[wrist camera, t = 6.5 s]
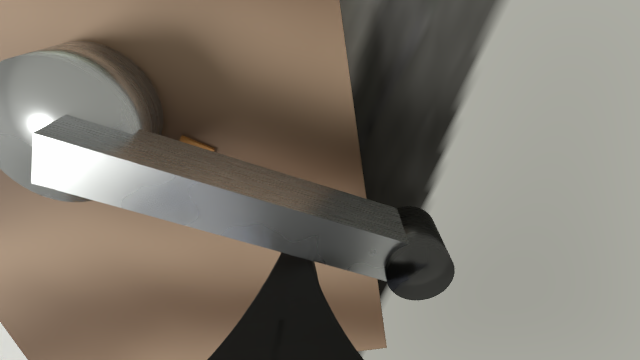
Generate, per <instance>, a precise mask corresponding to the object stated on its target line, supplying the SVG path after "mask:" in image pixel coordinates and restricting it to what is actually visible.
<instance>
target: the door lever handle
mask: <svg viewBox="0 0 640 360" xmlns="http://www.w3.org/2000/svg"><path fill="white" fill-rule="evenodd" d="M162 130H163V110H162V105H161V101H160V98H159V96H158V93H157V91H156V89H155V87H154V86H153V84H152V82H151V81H150V79H149V78H148V77H147V75H146V74H145V73H144V72H143V71H142V70H141V68H140V67H139V66H138V65H136V64H135V63H134V62H133V61H132V60H131V59H129V58H128V57H126V56H125V55H123V54H122V53H120V52H118V51H116V50H114V49H112V48H110V47H107V46H105V45H102V44H98V43H94V42H87V41H72V42H66V43H62V44H59V45H55V46H51V47H48V48H44V49H40V50H37V51H33V52H29V53H26V54H22V55H19V56H15V57H11V58H8V59H5V60H3V61H1V62H0V169H1V170H2V171H3V172H4V173H5V174H6V175H8V176H9V177H10V178H11V179H13V180H14V181H15V182H17V183H18V184H20V185H21V186H23V187H25V188H27V189H28V190H30V191H32V192H34V193H37V194H39V195H41V196H44V197H47V198H50V199H54V200H59V201H65V202H87V201H92V200H94V201H98V202H101V203H105V204H108V205H112V206H116V207H119V208H123V209H127V210H130V211H134V212H137V213H141V214H145V215H148V216H152V217H155V218H159V219H163V220H166V221H170V222H174V223H177V224H181V225H184V226H188V227H192V228H195V229H199V230H202V231H206V232H210V233H213V234H217V235H221V236H224V237H228V238H231V239H235V240H239V241H242V242H246V243H249V244H253V245H257V246H260V247H264V248H268V249H271V250H275V251H278V252H282V253H286V254H289V255H293V256H296V257H300V258H304V259H307V260H311V261H314V262H318V263H322V264H325V265H329V266H333V267H336V268H340V269H343V270H347V271H351V272H354V273H358V274H361V275H365V276H369V277H372V278H376V279H380V280H383V281H387V283H388V286H389V288H390V289H391V290H392V291H393V292H394V293H395V294H396V295H398V296H400V297H402V298H405V299H409V300H424V299H429V298H432V297H434V296H436V295H438V294H440V293H441V292H443V291H444V290H445V289H446V288H447V287H448V286H449V284H450V283H451V281H452V279H453V277H454V265H453V262H452V260H451V258H450V255H449V253H448V251H447V250H446V248H445V245H444V243H443V241H442V238H441V236H440V234H439V232H438V230H437V228H436V226H435V224H434V221H433V219H432V218H431V216H430V215H429V214H428V213H427V212H426V211H424V210H422V209H420V208H417V207H411V206H406V207H399V208H394V207H391V206H388V205H385V204H381V203H378V202H375V201H372V200H368V199H365V198H362V197H359V196H356V195H352V194H349V193H346V192H343V191H339V190H336V189H333V188H330V187H326V186H323V185H320V184H317V183H313V182H310V181H307V180H304V179H301V178H297V177H294V176H291V175H288V174H284V173H281V172H278V171H275V170H271V169H268V168H265V167H262V166H258V165H255V164H252V163H249V162H245V161H242V160H239V159H236V158H233V157H229V156H226V155H223V154H220V153H216V152H213V151H210V150H207V149H203V148H200V147H197V146H194V145H190V144H187V143H184V142H181V141H178V140H174V139H171V138H168V137H165V136H161V134H162Z"/></svg>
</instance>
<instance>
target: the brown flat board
mask: <svg viewBox="0 0 640 360" xmlns="http://www.w3.org/2000/svg"><path fill="white" fill-rule="evenodd" d="M72 41H87V42H94V43H98V44H102V45H105V46H107V47H110V48H112V49H114V50H116V51H118V52H120V53H122V54H123V55H125V56H126V57H128V58H129V59H131V60H132V61H133V62H134V63H135V64H136V65H138V66H139V67H140V68H141V70H142V71H143V72H144V73H145V74H146V75H147V77H148V78H149V79H150V81H151V82H152V84H153V86H154V87H155V89H156V91H157V93H158V96H159V98H160V101H161V105H162V110H163V130H162V134H161V136H165V137H168V138H171V139H174V140H178V141H181V142H184V143H187V144H190V145H194V146H197V147H200V148H203V149H207V150H210V151H213V152H216V153H220V154H223V155H226V156H229V157H233V158H236V159H239V160H242V161H245V162H249V163H252V164H255V165H258V166H262V167H265V168H268V169H271V170H275V171H278V172H281V173H284V174H288V175H291V176H294V177H297V178H301V179H304V180H307V181H310V182H313V183H317V184H320V185H323V186H326V187H330V188H333V189H336V190H339V191H343V192H346V193H349V194H352V195H356V196H359V197H362V198H365V199H366V192H365V185H364V177H363V170H362V163H361V155H360V148H359V141H358V133H357V126H356V119H355V111H354V104H353V97H352V89H351V82H350V75H349V67H348V60H347V53H346V45H345V38H344V31H343V23H342V16H341V9H340V1H339V0H0V62H1V61H3V60H5V59H8V58H11V57H15V56H19V55H22V54H26V53H29V52H33V51H37V50H40V49H44V48H48V47H51V46H55V45H59V44H62V43H66V42H72ZM280 254H281V252H278V251H275V250H271V249H268V248H264V247H260V246H257V245H253V244H249V243H246V242H242V241H239V240H235V239H231V238H228V237H224V236H221V235H217V234H213V233H210V232H206V231H202V230H199V229H195V228H192V227H188V226H184V225H181V224H177V223H174V222H170V221H166V220H163V219H159V218H155V217H152V216H148V215H145V214H141V213H137V212H134V211H130V210H127V209H123V208H119V207H116V206H112V205H108V204H105V203H101V202H98V201H94V200H92V201H87V202H65V201H59V200H54V199H50V198H47V197H44V196H41V195H39V194H37V193H34V192H32V191H30V190H28V189H27V188H25V187H23V186H21V185H20V184H18V183H17V182H15V181H14V180H13V179H11V178H10V177H9V176H8V175H6V174H5V173H4V172H3V171H2V170H1V169H0V322H1V323H2V325H3V326H4V327H5V329H6V330H7V332H8V333H9V334H10V336H11V337H12V339H13V340H14V341H15V343H16V344H17V345H18V347H19V348H20V350H21V351H22V352H23V354H24V355H25V356H26V358H27V359H28V360H207V359H208V358H209V357H210V356H211V355H212V354H213V353H214V352H215V350H216V349H217V348H218V347H219V346H220V344H221V343H222V342H223V341H224V340H225V338H226V337H227V336H228V335H229V333H230V332H231V331H232V330H233V328H234V327H235V326H236V324H237V323H238V322H239V320H240V319H241V318H242V316H243V315H244V313H245V312H246V310H247V309H248V307H249V306H250V305H251V303H252V302H253V300H254V299H255V297H256V296H257V294H258V292H259V291H260V289H261V288H262V286H263V284H264V283H265V281H266V279H267V278H268V276H269V274H270V272H271V271H272V269H273V267H274V265H275V263H276V262H277V260H278V258H279V256H280ZM315 267H316V271H317V276H318V280H319V285H320V287H321V290H322V292H323V294H324V296H325V298H326V300H327V302H328V304H329V306H330V308H331V310H332V312H333V314H334V315H335V317H336V319H337V321H338V322H339V324H340V326H341V327H342V329H343V331H344V332H345V334H346V335H347V337H348V338H349V340H350V341H351V343H352V344H353V346H354V347H355V349H356V350H357V351H364V350H372V349H380V348H386V347H387V346H386V339H385V332H384V324H383V317H382V310H381V302H380V295H379V288H378V280H377V279H376V278H372V277H369V276H365V275H361V274H358V273H354V272H351V271H347V270H343V269H340V268H336V267H333V266H329V265H325V264H322V263H318V262H315Z"/></svg>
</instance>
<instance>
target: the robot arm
mask: <svg viewBox="0 0 640 360" xmlns="http://www.w3.org/2000/svg"><path fill="white" fill-rule="evenodd" d="M207 360H363V358H362V357H361V356H360V354H359V353H358V352H357V350H356V349H355V347H354V346H353V344H352V343H351V341H350V340H349V338H348V337H347V335H346V334H345V332H344V331H343V329H342V327H341V326H340V324H339V322H338V321H337V319H336V317H335V315H334V314H333V312H332V310H331V308H330V306H329V304H328V302H327V300H326V298H325V296H324V294H323V292H322V290H321V287H320V285H319V280H318V276H317V271H316V267H315V262H314V261H311V260H307V259H304V258H300V257H296V256H293V255H289V254H286V253H282V252H281V254H280V256H279V258H278V260H277V262H276V263H275V265H274V267H273V269H272V271H271V272H270V274H269V276H268V278H267V279H266V281H265V283H264V284H263V286H262V288H261V289H260V291H259V292H258V294H257V296H256V297H255V299H254V300H253V302H252V303H251V305H250V306H249V307H248V309H247V310H246V312H245V313H244V315H243V316H242V318H241V319H240V320H239V322H238V323H237V324H236V326H235V327H234V328H233V330H232V331H231V332H230V333H229V335H228V336H227V337H226V338H225V340H224V341H223V342H222V343H221V344H220V346H219V347H218V348H217V349H216V350H215V352H214V353H213V354H212V355H211V356H210V357H209V358H208V359H207Z"/></svg>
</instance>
